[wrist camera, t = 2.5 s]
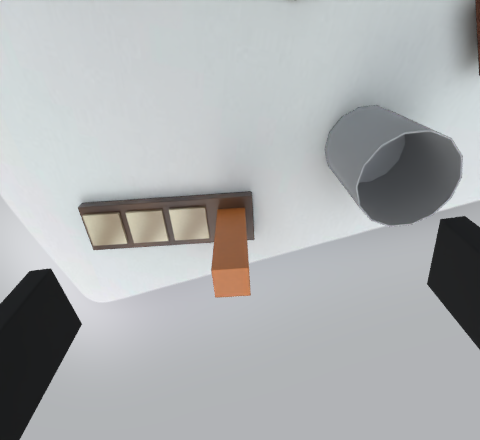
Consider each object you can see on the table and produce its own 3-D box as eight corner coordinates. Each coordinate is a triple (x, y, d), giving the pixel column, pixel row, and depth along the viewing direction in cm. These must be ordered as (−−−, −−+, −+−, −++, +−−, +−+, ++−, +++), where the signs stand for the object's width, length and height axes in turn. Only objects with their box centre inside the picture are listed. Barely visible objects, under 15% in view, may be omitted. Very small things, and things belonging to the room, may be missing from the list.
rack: (97, 244, 40) (92, 252, 38) (81, 202, 37) (76, 209, 35) (253, 234, 39) (254, 241, 38) (251, 191, 36) (252, 197, 35)
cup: (338, 99, 31) (377, 122, 23) (415, 110, 32) (483, 136, 23) (317, 177, 36) (344, 221, 27) (386, 185, 36) (433, 231, 28)
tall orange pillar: (220, 232, 38) (215, 297, 28) (217, 209, 36) (211, 270, 27) (246, 230, 38) (250, 295, 28) (244, 207, 36) (248, 267, 26)
